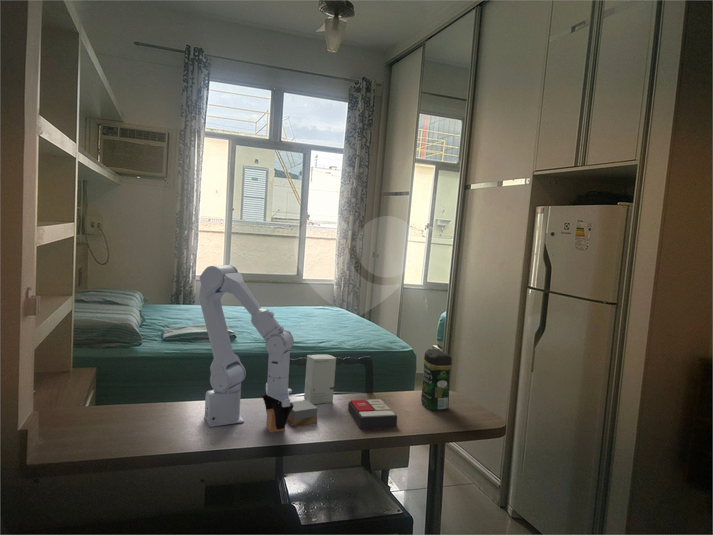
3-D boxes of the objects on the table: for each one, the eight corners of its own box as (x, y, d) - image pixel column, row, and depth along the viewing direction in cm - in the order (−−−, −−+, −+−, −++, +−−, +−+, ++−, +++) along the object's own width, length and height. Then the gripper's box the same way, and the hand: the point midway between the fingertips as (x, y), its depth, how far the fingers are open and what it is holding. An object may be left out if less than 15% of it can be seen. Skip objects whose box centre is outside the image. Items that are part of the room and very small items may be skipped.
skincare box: (310, 405, 150) (312, 359, 149) (303, 399, 155) (305, 354, 154) (334, 402, 154) (336, 357, 153) (326, 396, 159) (329, 352, 158)
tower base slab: (293, 428, 133) (294, 420, 133) (285, 419, 139) (285, 411, 139) (316, 425, 136) (317, 416, 136) (307, 416, 142) (307, 408, 142)
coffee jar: (417, 401, 160) (421, 347, 158) (438, 400, 162) (443, 347, 160) (429, 412, 150) (433, 354, 149) (451, 411, 152) (456, 354, 151)
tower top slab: (294, 419, 133) (294, 411, 132) (285, 411, 139) (285, 402, 139) (316, 416, 136) (317, 407, 136) (307, 407, 142) (307, 399, 142)
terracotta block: (270, 432, 128) (271, 414, 128) (266, 426, 132) (267, 409, 132) (284, 430, 130) (285, 412, 130) (280, 424, 134) (280, 407, 134)
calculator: (381, 397, 151) (397, 413, 137) (381, 411, 151) (397, 428, 137) (348, 399, 148) (361, 415, 134) (347, 412, 148) (360, 430, 134)
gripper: (301, 381, 126) (299, 431, 127) (283, 366, 138) (280, 411, 139) (276, 384, 122) (273, 435, 123) (259, 368, 135) (257, 415, 136)
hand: (275, 423), depth 131 cm, fingers open, 7 cm apart
